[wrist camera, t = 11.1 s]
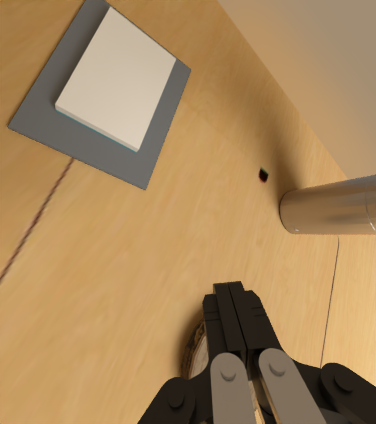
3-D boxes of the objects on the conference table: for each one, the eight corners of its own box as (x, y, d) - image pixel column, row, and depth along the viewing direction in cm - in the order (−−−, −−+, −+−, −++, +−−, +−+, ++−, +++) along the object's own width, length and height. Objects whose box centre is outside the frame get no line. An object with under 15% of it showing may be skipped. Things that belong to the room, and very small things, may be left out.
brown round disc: (203, 291, 32) (215, 296, 30) (269, 318, 39) (283, 324, 36) (162, 409, 28) (171, 427, 25) (244, 418, 34) (258, 433, 31)
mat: (144, 190, 29) (145, 189, 29) (8, 128, 22) (7, 126, 22) (190, 71, 35) (191, 69, 34) (91, -7, 28) (91, -10, 28)
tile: (139, 149, 27) (176, 58, 31) (54, 104, 23) (110, 6, 27) (136, 153, 28) (172, 65, 32) (56, 111, 24) (108, 16, 28)
